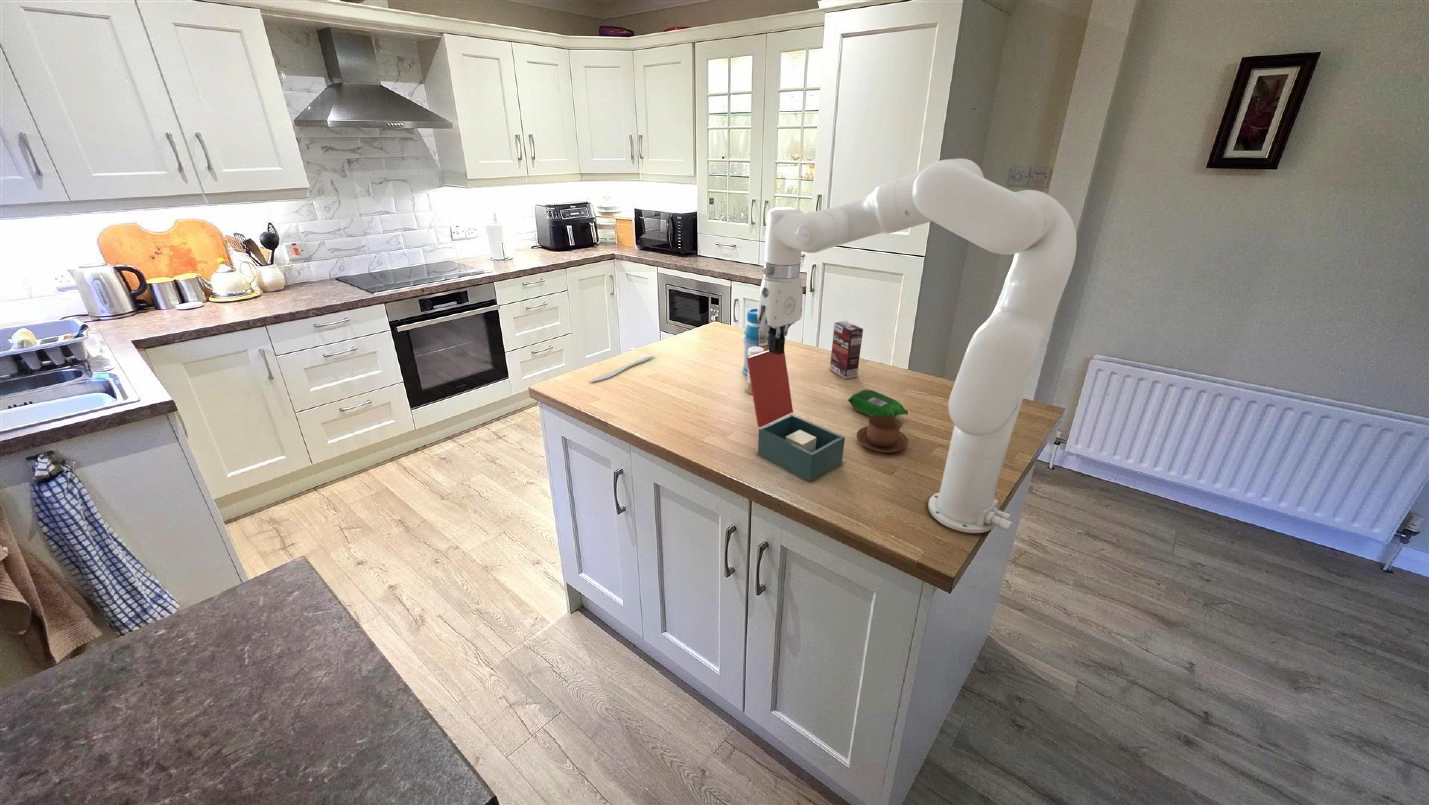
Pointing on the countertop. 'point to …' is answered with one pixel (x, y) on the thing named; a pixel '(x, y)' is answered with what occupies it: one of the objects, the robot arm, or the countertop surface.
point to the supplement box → (846, 349)
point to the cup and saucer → (883, 434)
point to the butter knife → (622, 368)
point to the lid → (769, 386)
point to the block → (803, 440)
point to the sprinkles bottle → (751, 352)
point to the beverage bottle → (753, 336)
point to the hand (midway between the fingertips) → (776, 352)
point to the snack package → (876, 404)
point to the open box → (796, 457)
